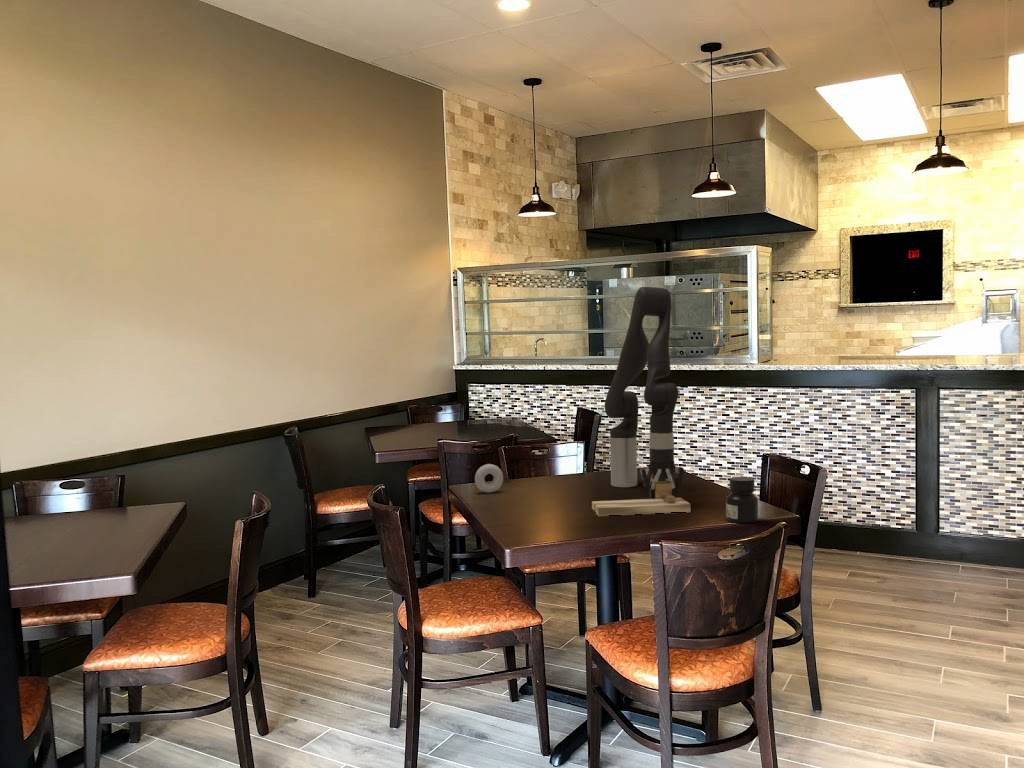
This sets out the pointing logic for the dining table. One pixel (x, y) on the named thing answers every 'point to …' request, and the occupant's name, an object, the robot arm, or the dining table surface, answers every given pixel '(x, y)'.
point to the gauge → (664, 491)
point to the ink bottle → (742, 501)
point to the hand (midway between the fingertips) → (662, 500)
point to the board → (639, 506)
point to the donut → (481, 478)
